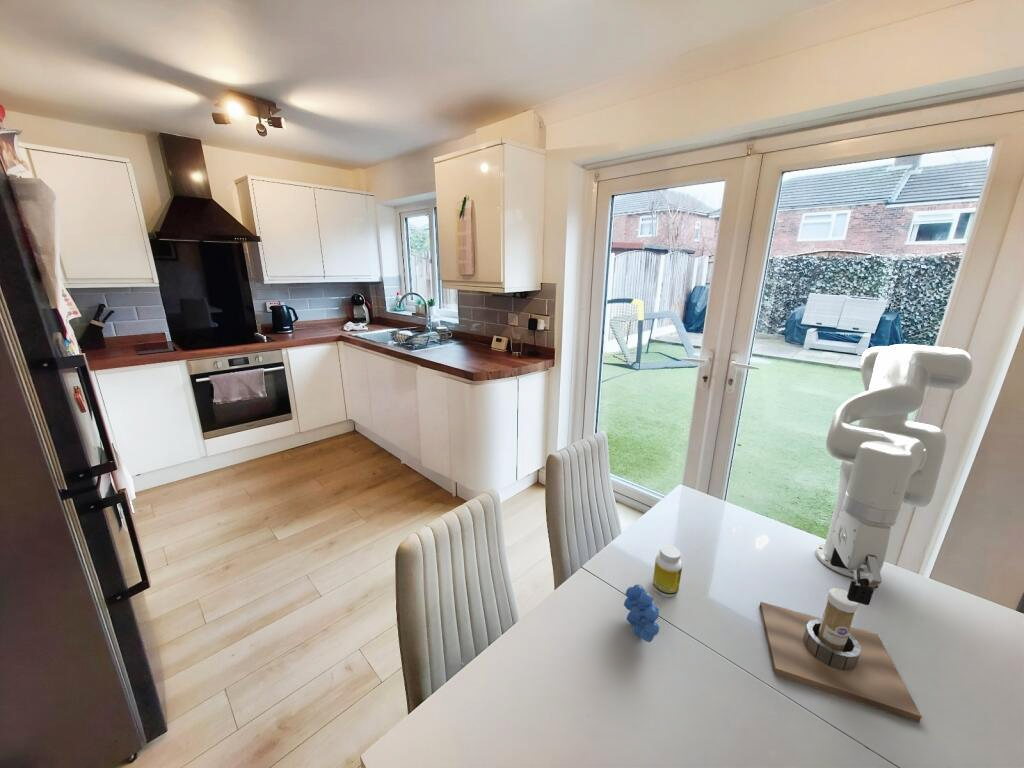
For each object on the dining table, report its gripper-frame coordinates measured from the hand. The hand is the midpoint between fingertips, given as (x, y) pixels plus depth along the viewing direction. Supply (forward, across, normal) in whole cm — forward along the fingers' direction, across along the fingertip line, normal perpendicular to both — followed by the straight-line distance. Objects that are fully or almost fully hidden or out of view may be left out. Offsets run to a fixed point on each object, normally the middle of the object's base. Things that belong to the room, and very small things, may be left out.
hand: (848, 583), depth 78 cm
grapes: (+18, +11, -36) cm, 42 cm away
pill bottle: (+18, -5, -32) cm, 37 cm away
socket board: (+18, +1, 0) cm, 18 cm away
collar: (+17, +1, 0) cm, 17 cm away
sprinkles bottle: (+17, 0, 0) cm, 17 cm away
